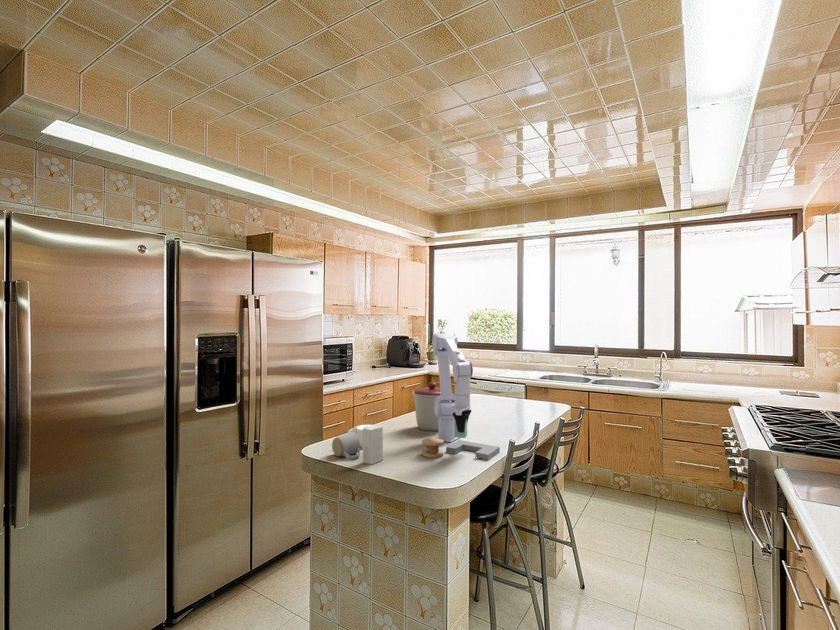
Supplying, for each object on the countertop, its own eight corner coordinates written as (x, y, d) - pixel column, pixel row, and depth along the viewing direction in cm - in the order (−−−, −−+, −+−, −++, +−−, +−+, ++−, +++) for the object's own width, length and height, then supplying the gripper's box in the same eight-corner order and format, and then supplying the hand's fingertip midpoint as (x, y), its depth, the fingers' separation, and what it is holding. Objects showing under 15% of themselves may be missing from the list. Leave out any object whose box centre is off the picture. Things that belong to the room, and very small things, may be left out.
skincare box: (374, 458, 156) (374, 424, 156) (383, 460, 153) (383, 426, 153) (361, 462, 151) (362, 427, 151) (370, 465, 148) (370, 430, 148)
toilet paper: (345, 445, 170) (345, 428, 170) (368, 440, 178) (369, 423, 178) (357, 450, 164) (358, 432, 164) (381, 444, 172) (381, 427, 172)
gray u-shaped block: (458, 445, 172) (458, 440, 172) (499, 452, 163) (499, 446, 163) (446, 452, 163) (446, 447, 163) (488, 460, 154) (488, 454, 154)
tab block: (456, 434, 164) (456, 418, 164) (467, 435, 163) (467, 419, 163) (454, 437, 161) (454, 421, 161) (465, 438, 159) (465, 421, 159)
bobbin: (428, 449, 166) (428, 436, 166) (447, 453, 161) (447, 440, 161) (417, 455, 159) (417, 441, 159) (436, 459, 155) (436, 445, 155)
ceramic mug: (330, 454, 159) (330, 434, 159) (348, 450, 165) (349, 430, 165) (347, 462, 151) (347, 440, 151) (365, 457, 157) (366, 436, 157)
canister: (405, 425, 203) (406, 380, 203) (440, 422, 210) (440, 378, 210) (422, 435, 186) (422, 386, 186) (458, 431, 194) (459, 383, 194)
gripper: (455, 390, 170) (455, 425, 170) (447, 396, 156) (447, 434, 156) (473, 391, 168) (473, 426, 168) (466, 398, 154) (466, 436, 154)
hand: (462, 430), depth 162 cm, fingers closed on tab block, 4 cm apart
